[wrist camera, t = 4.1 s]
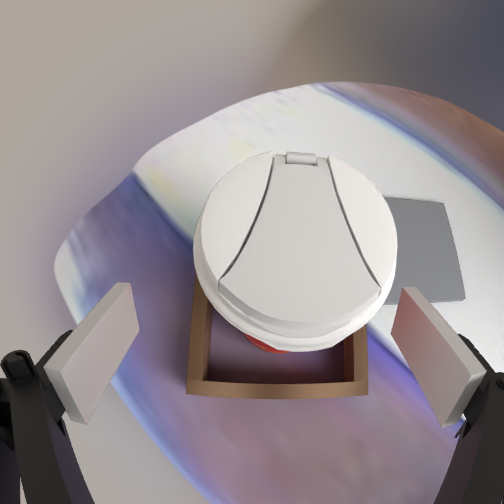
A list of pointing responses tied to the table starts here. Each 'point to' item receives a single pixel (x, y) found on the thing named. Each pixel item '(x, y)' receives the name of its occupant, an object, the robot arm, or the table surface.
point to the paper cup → (295, 250)
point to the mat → (424, 252)
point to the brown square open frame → (200, 385)
